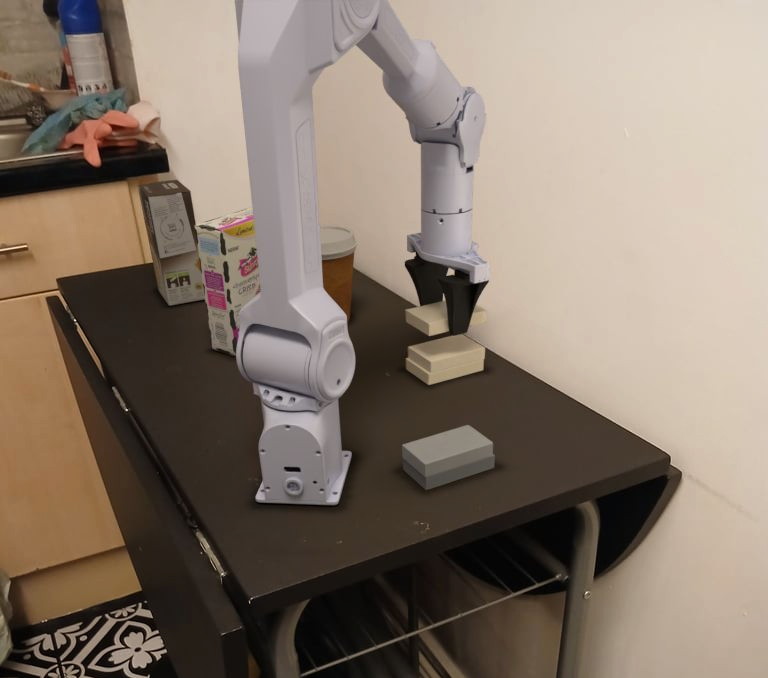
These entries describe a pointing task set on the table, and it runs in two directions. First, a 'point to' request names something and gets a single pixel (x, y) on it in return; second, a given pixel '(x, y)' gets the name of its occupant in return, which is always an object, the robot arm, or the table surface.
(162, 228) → the coffee box
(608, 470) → the table surface
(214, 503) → the table surface
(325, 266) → the disposable coffee cup
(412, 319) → the cream rectangular block
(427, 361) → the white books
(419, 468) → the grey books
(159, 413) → the table surface
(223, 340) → the candy bar box
